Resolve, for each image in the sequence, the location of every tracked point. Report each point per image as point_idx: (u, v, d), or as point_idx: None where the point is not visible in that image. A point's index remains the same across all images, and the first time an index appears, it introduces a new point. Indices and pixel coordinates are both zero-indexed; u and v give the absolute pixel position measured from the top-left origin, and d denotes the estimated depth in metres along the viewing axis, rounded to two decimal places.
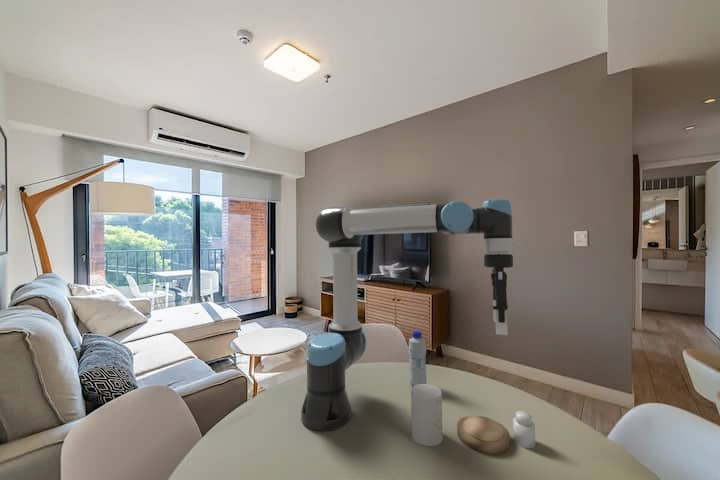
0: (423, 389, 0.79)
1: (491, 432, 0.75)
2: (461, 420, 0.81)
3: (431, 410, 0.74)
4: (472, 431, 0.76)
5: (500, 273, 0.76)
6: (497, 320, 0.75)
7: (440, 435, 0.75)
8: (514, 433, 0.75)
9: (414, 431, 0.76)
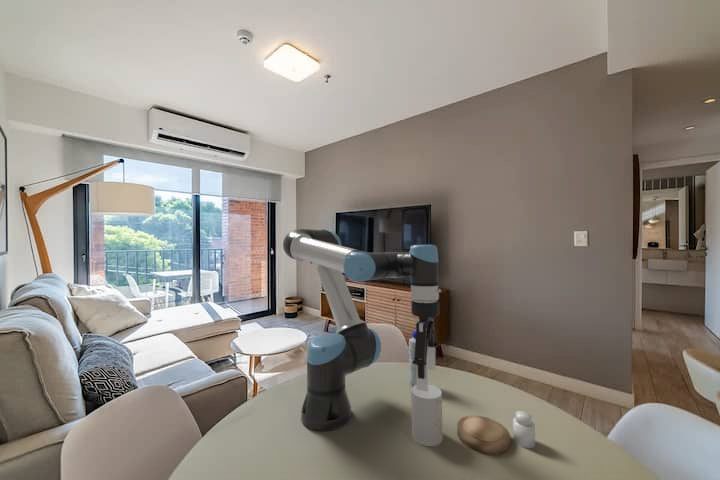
0: None
1: (491, 432, 0.75)
2: (461, 420, 0.81)
3: (431, 410, 0.74)
4: (472, 431, 0.76)
5: (421, 326, 0.72)
6: (417, 375, 0.72)
7: (440, 435, 0.75)
8: (514, 433, 0.75)
9: (414, 431, 0.76)
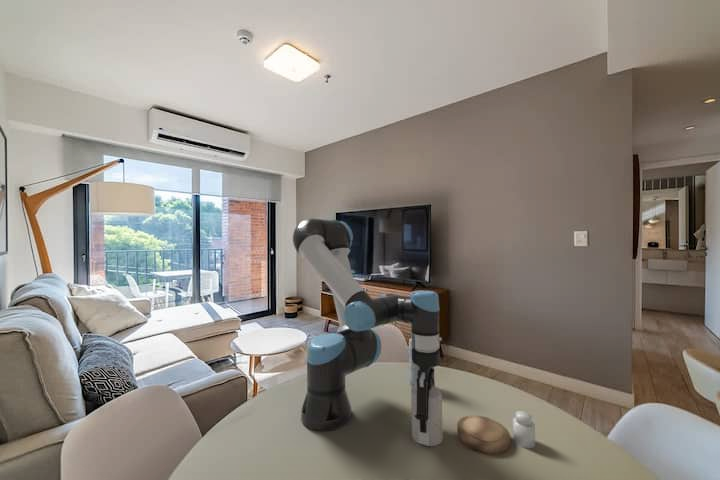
0: None
1: (491, 432, 0.75)
2: (461, 420, 0.81)
3: (431, 410, 0.74)
4: (472, 431, 0.76)
5: (421, 382, 0.72)
6: (419, 428, 0.74)
7: (440, 435, 0.75)
8: (514, 433, 0.75)
9: (414, 431, 0.76)
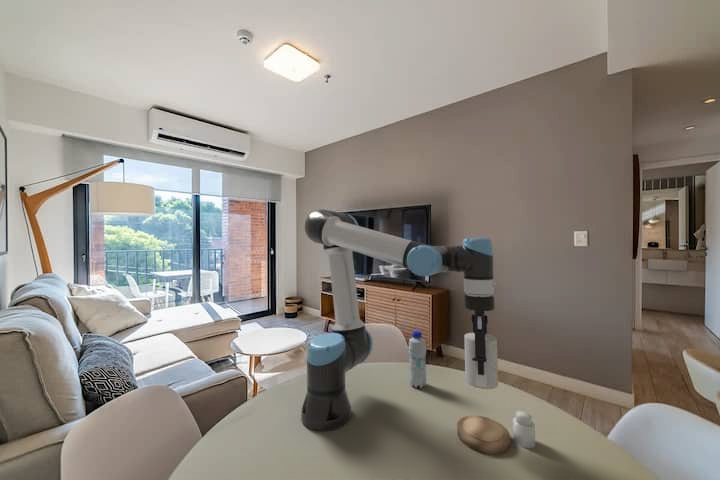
0: None
1: (491, 432, 0.75)
2: (461, 420, 0.81)
3: (488, 353, 0.73)
4: (472, 431, 0.76)
5: (479, 324, 0.71)
6: (476, 371, 0.73)
7: (497, 379, 0.74)
8: (514, 433, 0.75)
9: (470, 376, 0.75)
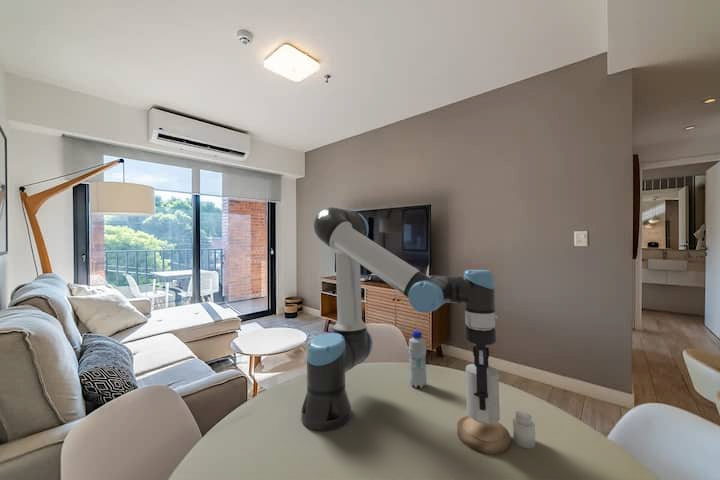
0: None
1: (491, 432, 0.75)
2: (461, 420, 0.81)
3: (490, 388, 0.73)
4: (472, 431, 0.76)
5: (481, 359, 0.71)
6: (478, 406, 0.73)
7: (498, 413, 0.74)
8: (514, 433, 0.75)
9: (471, 410, 0.75)
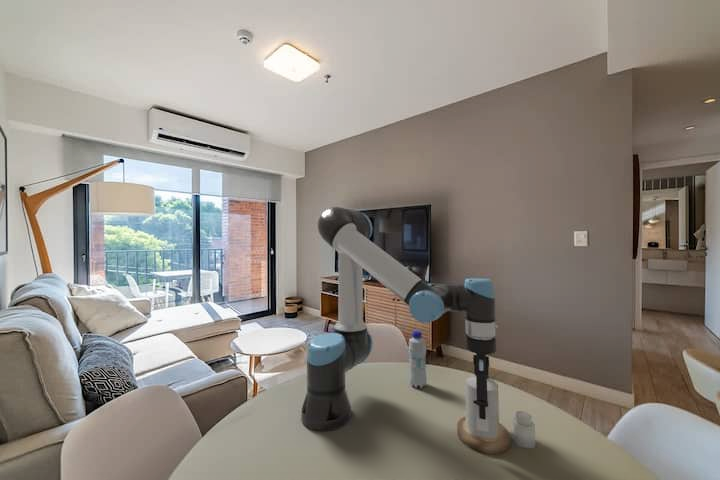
0: None
1: None
2: (461, 420, 0.81)
3: (489, 402, 0.73)
4: None
5: (481, 365, 0.71)
6: (478, 415, 0.71)
7: (498, 428, 0.74)
8: (514, 433, 0.75)
9: (471, 424, 0.75)
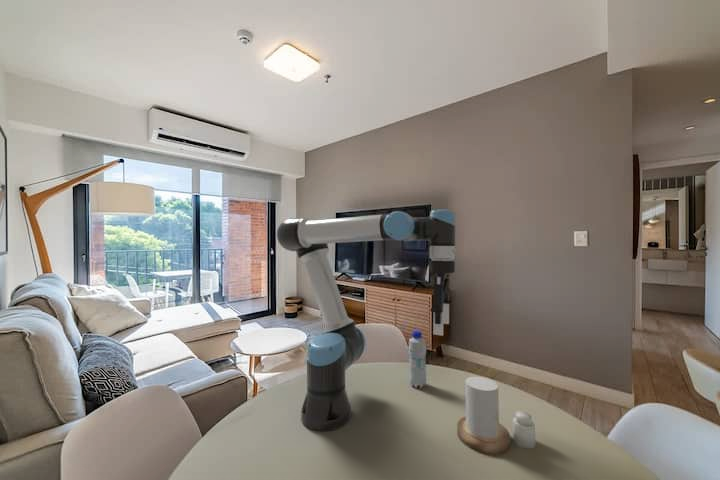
0: (477, 381, 0.78)
1: None
2: (461, 420, 0.81)
3: (489, 402, 0.73)
4: None
5: (439, 279, 0.82)
6: (434, 321, 0.82)
7: (498, 428, 0.74)
8: (514, 433, 0.75)
9: (471, 424, 0.75)
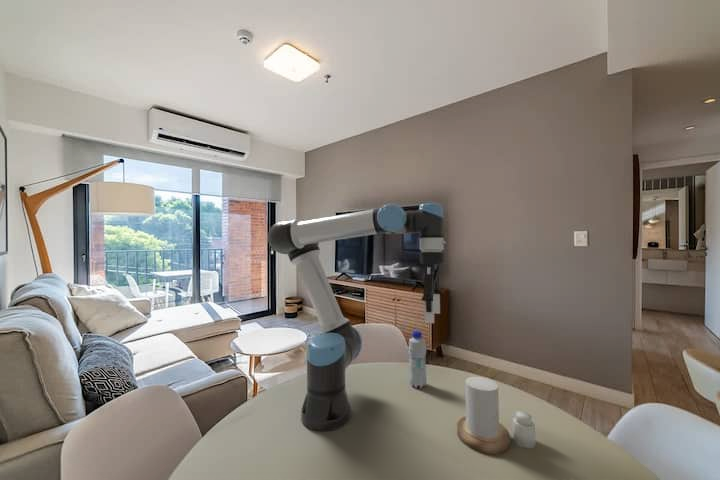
0: (477, 381, 0.78)
1: None
2: (461, 420, 0.81)
3: (489, 402, 0.73)
4: None
5: (429, 269, 0.86)
6: (425, 310, 0.85)
7: (498, 428, 0.74)
8: (514, 433, 0.75)
9: (471, 424, 0.75)
